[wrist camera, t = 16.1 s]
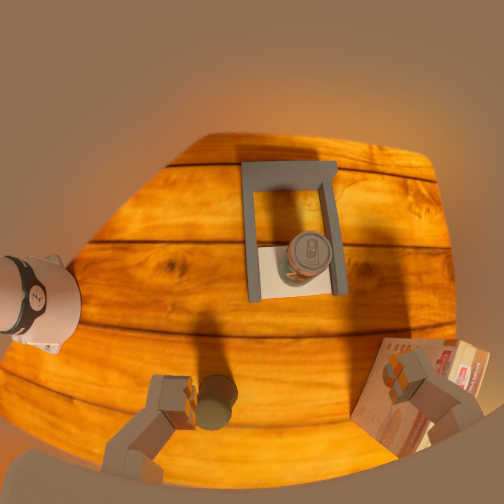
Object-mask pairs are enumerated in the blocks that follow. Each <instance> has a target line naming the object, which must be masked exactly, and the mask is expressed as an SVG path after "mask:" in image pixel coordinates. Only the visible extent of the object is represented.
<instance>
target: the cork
mask: <svg viewBox="0 0 504 504" xmlns="http://www.w3.org/2000/svg"><path fill="white" fill-rule="evenodd" d="M237 398H238V391H237V387H236V385H235V384H234V382H233V381H232V380H230V379H229V378H227V377H225V376H222V375H213V376H210V377H208V378H206V379H205V380H204V381H203V382H202V383H201V385H200V387H199V392H198V395H197V407H196V408H195V410H194V413H195V415H196V425H197V426H198V427H200V428H202V429H204V430H210V431H213V430H218V429H221V428H223V427H224V426H225V425H226V424H227V423H228V422H229V420H230V418H231V413H232V409H231V408H232V406H233V405H234V404H235V402H236V400H237Z"/></svg>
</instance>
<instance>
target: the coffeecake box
mask: <svg viewBox="0 0 504 504" xmlns="http://www.w3.org/2000/svg"><path fill="white" fill-rule="evenodd" d="M418 347H421V348H422V349H423V350H424V351H425V353H426V355H427V357H428V358H429V360H430V362H431V364H432V366H433V368H434V369H435V371H436V373H437V374H439V373H440V374H441V375H443V376H444V377H446V378H447V379H449V380H450V381H452V382H454V383H455V384H457V385H458V386H460V387H461V388H463V389H465V390H466V391H468V392H469V393H471V394H472V395H474V397H475V398H476V397H477V394H478V392H479V389H480V386H481V383H482V380H483V376H484V373H485V370H486V366H487V363H488V359H489V356H490V353H489V352H487V351H485V350H483V349H481V348H478V347H476V346H474V345H472V344H470V343H467V342H465V341H463V340H460V339H459V340H458V339H404V338H384V339H383V341H382V344H381V347H380V349H379V352H378V355H377V357H376V360H375V363H374V365H373V368H372V370H371V373H370V375H369V377H368V380H367V382H366V384H365V387H364V389H363V391H362V394H361V396H360V398H359V400H358V402H357V404H356V407H355V409H354V411H353V413H352V415H351V417H350V419H351V420H352V421H353V422H355V423H356V424H357V425H358V426H359V427H361V428H362V429H363V430H364V431H366V432H367V433H368V434H369V435H370V436H372V437H373V438H374V439H375V440H376V441H378V442H379V443H380V444H381V445H383V446H384V447H385V448H387V449H388V450H389V451H390V452H392V453H393V454H394V455H395V456H397V457H398V458H399V459H400V458H403V457H406V456H408V455H411V454H413V453H416V452H418V451H420V450H423V449H425V448H427V447H429V446H431V443H430V440H429V438H428V435H427V432H428V430H429V429H431V428H432V427H433V426H434V425H435V424H434V423H433V422H431V421H430V420H429V419H428V418H427V417H426V416H424V415H423V414H422V413H421V412H420V411H419V410H418V409H416V408H415V407H414V406H413V405H412V404H411V403H410V402H409V401H406V402H403V403H399V404H396V405H393V404H392V401H391V399H390V396H389V394H388V393H389V389H390V388H388V387H387V386H385V384H384V381H383V377H382V375H383V369H384V367H385V365H386V364H388V363H389V361H388V359H389V357H390V355H392V354H395V353H399V352H403V351H406V350H411V349H414V348H418Z"/></svg>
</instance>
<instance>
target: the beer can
mask: <svg viewBox="0 0 504 504" xmlns="http://www.w3.org/2000/svg"><path fill="white" fill-rule="evenodd" d="M331 258H332V247H331V245H330V243H329V241H328V240H327V238H326V237H325V236H323V235H322V234H320V233H318V232H315V231H306V232H303V233H300V234H298V235H297V236H295V237H294V238H293V239H292V240H291V242H290V243H289V245H288V247H287V249H286V251H285V253H284V255H283V257H282V259H281V261H280V264H279V267H278V273H279V276H280V278H281V280H282V281H283V282H284V283H285V284H286V285H288V286H291V287H301V286H304V285H306V284H307V283H308V282H310V281H311V280H313V279H314V278H316V277H317V276H318V275H320V274H321V273H322V272H324V271H325V270H326V269H327V268H328V266H329V264H330V262H331Z"/></svg>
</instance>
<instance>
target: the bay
mask: <svg viewBox="0 0 504 504" xmlns="http://www.w3.org/2000/svg"><path fill="white" fill-rule="evenodd" d="M241 166H242V189H243V207H244V225H245V242H246V259H247V276H248V292H249V303H254V302H260V286H259V271H258V256H259V270H260V285H261V299H266V298H280V297H293V296H305V295H316V294H327V293H331V285H330V276H329V267H328V268H327V269H326V270H325V271H324V272H322V273H321V274H320V275H318V276H317V277H316V278H314V279H313V280H311V281H310V282H308V283H307V284H306V285H304V286H301V287H291V286H288V285H286V284H285V283H284V282H283V281H282V280H281V278H280V276H279V273H278V267H279V264H280V261H281V259H282V257H283V255H284V253H285V251H286V249H287V247H288V246H277V247H259V248H258V256H257V242H256V228H255V213H254V199H253V192H263V191H292V190H318V191H319V196H320V202H321V208H322V215H323V221H324V228H325V235H326V238H327V240H328V241H329V243H330V245H331V247H332V258H331V262H330V264H329V265H330V274H331V283H332V292H333V296H339V295H344V294H347V293H349V292H348V283H347V274H346V266H345V259H344V251H343V245H342V238H341V232H340V225H339V219H338V214H337V208H336V203H335V197H334V192H333V187H332V180H333V178H334V176H335V175H336V173H337V171H338V167H337V163H336V161H261V162H241Z"/></svg>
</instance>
